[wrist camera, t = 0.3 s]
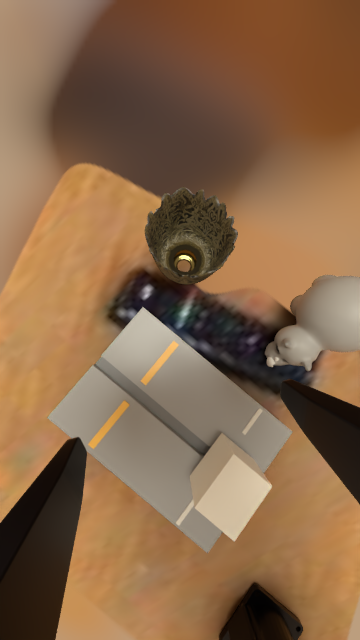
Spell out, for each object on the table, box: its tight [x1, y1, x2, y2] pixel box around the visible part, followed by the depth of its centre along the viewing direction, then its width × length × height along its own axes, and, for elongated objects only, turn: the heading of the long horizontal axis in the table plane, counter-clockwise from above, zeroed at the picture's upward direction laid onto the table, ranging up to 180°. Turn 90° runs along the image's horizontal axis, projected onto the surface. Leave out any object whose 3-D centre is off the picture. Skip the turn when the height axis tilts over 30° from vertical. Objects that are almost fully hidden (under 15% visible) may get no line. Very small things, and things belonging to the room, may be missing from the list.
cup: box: [145, 187, 238, 284], centre depth 20 cm, size 7×7×8 cm
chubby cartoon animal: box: [265, 275, 360, 371], centre depth 20 cm, size 7×12×8 cm, turn 131°
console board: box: [47, 308, 292, 553], centre depth 21 cm, size 20×14×3 cm
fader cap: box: [190, 433, 272, 542], centre depth 17 cm, size 4×5×4 cm
